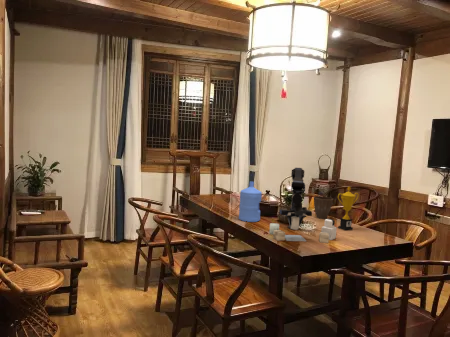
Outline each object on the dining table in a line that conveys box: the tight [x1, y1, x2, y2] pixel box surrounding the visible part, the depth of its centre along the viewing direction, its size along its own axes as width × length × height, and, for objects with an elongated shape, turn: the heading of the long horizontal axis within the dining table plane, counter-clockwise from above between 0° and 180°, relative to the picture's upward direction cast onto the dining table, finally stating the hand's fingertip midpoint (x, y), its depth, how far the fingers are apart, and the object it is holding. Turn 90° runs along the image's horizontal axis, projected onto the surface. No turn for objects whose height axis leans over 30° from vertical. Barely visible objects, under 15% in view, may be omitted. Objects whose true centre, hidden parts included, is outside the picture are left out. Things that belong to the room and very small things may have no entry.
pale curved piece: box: [268, 222, 280, 236], centre depth 238 cm, size 6×6×6 cm
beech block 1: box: [272, 229, 286, 242], centre depth 225 cm, size 5×5×5 cm
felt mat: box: [285, 234, 307, 242], centre depth 229 cm, size 12×12×1 cm
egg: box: [289, 216, 300, 231], centre depth 228 cm, size 5×5×7 cm
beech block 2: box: [318, 231, 330, 244], centre depth 226 cm, size 5×5×5 cm
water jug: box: [238, 181, 263, 223], centre depth 271 cm, size 16×16×28 cm
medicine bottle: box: [320, 218, 338, 241], centre depth 234 cm, size 7×7×12 cm
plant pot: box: [313, 195, 334, 220], centre depth 293 cm, size 15×15×16 cm
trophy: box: [337, 186, 360, 231], centre depth 260 cm, size 19×10×30 cm, turn 116°
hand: (294, 226), depth 229 cm, fingers closed on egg, 5 cm apart
